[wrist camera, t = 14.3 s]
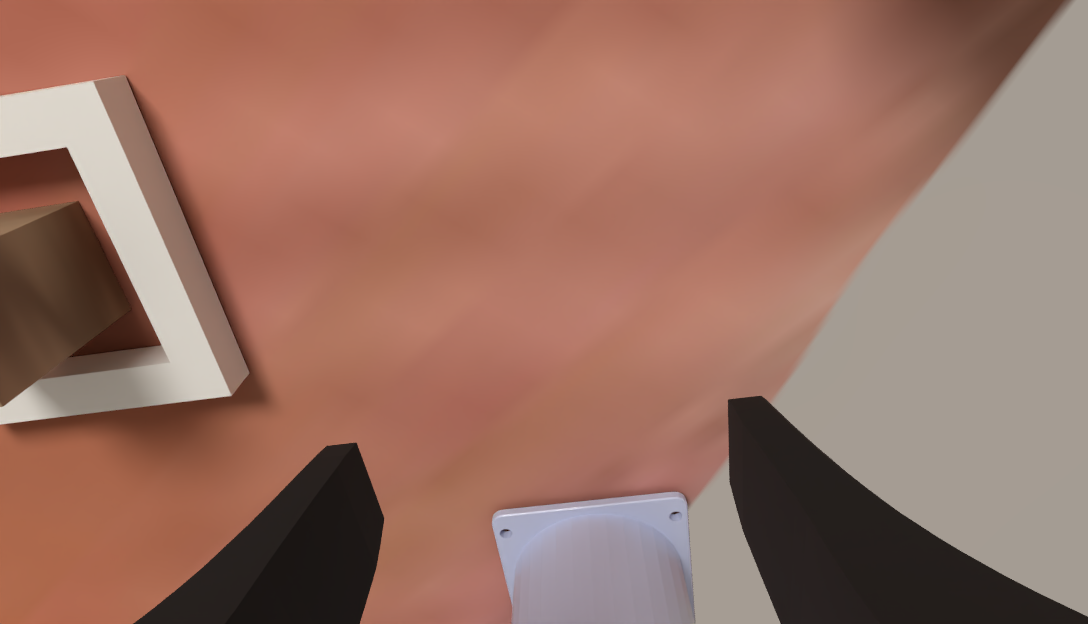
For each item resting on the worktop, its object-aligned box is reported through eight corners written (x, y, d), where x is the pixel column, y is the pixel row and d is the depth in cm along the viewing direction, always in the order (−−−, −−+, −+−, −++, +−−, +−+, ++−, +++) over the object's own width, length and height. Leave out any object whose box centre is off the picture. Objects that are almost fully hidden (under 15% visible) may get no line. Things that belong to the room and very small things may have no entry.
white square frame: (249, 373, 24) (231, 395, 23) (-13, 406, 25) (-45, 429, 23) (124, 74, 19) (92, 81, 18) (-194, 127, 20) (-248, 137, 19)
